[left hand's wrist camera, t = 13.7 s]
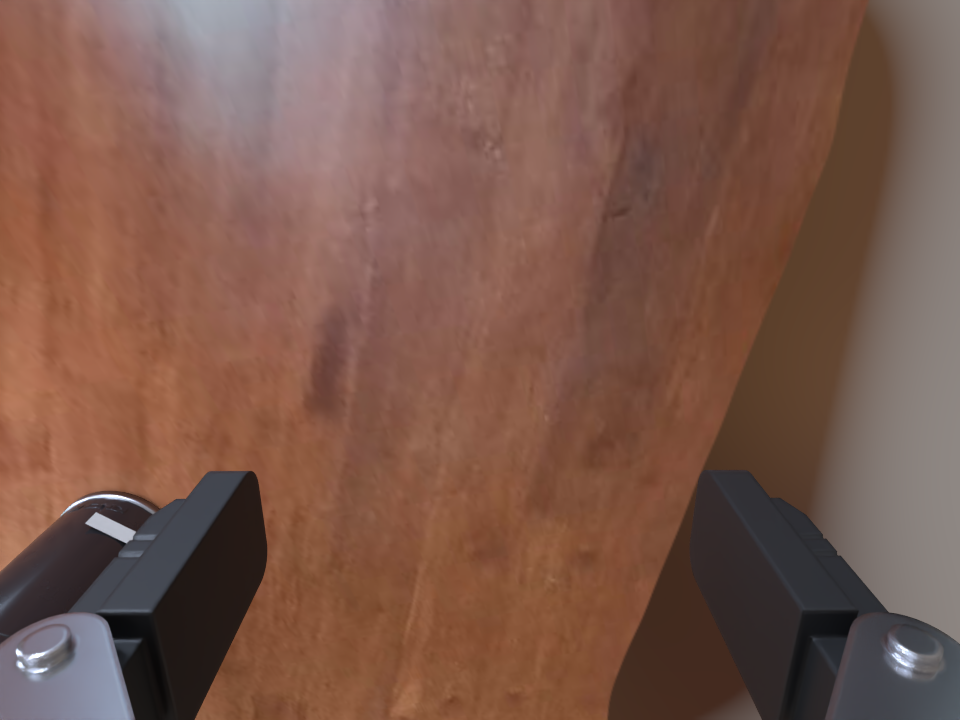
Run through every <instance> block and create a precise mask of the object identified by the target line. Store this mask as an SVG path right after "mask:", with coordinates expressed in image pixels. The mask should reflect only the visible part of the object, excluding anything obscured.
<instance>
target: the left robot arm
mask: <svg viewBox="0 0 960 720" xmlns="http://www.w3.org/2000/svg"><path fill="white" fill-rule="evenodd" d="M266 561H267V541H266V534H265V526H264V519H263V512H262V505H261V498H260V491H259V484H258V479H257V477H256V475H255V473H254V472H252V471H210V472H208V473H207V474H206V475H205V476H204V477H203V478H202V480H201V481H200V482H199V483H198V485H197V486H196V487H195V488H194V490H193V491H192V492H191V493H190V495H189V496H188V497H187V498H186V499H176V500H174V501H173V502H171V503H170V504H168V505H166V506H165V507H163V508H162V509H159V508H157V507H156V506H155V505H153V504H152V503H150V502H148V501H146V500H145V499H142V498H140V497H138V496H135V495H132V494H129V493H124V492H118V491H101V492H95V493H91V494H88V495H86V496H83V497H81V498H80V499H78V500H77V501H75V502H74V503H73V504H72V505H71V506H69V507H68V508H67V509H66V510H65V511H64V512H63V514H62V515H61V516H60V518H59V519H57V520H56V521H55V522H54V523H53V524H52V525H51V526H50V527H49V528H48V529H47V530H45V531H44V532H43V533H42V534H41V535H40V536H39V537H37V538H36V539H35V540H34V541H33V542H32V543H31V544H30V545H29V546H28V547H27V548H25V549H24V550H23V551H22V552H21V553H20V554H19V555H18V556H17V557H16V558H15V559H14V560H12V561H11V562H10V563H9V564H8V565H7V566H6V567H5V568H4V569H3V570H2V571H0V720H194V719H195V717H196V715H197V713H198V711H199V709H200V707H201V705H202V703H203V701H204V699H205V697H206V695H207V693H208V690H209V688H210V686H211V684H212V682H213V680H214V678H215V676H216V674H217V672H218V670H219V668H220V666H221V664H222V662H223V660H224V657H225V655H226V653H227V651H228V649H229V647H230V645H231V643H232V641H233V639H234V637H235V635H236V633H237V631H238V629H239V627H240V624H241V622H242V620H243V618H244V616H245V614H246V612H247V610H248V608H249V606H250V604H251V602H252V600H253V598H254V596H255V593H256V591H257V589H258V587H259V585H260V583H261V581H262V579H263V576H264V572H265V568H266ZM690 562H691V567H692V572H693V575H694V578H695V580H696V582H697V585H698V587H699V589H700V591H701V593H702V595H703V597H704V599H705V601H706V603H707V605H708V608H709V610H710V612H711V614H712V616H713V618H714V620H715V622H716V624H717V626H718V628H719V630H720V633H721V635H722V637H723V639H724V641H725V643H726V645H727V647H728V649H729V651H730V653H731V656H732V658H733V660H734V662H735V664H736V666H737V668H738V670H739V672H740V674H741V676H742V679H743V681H744V683H745V685H746V687H747V689H748V691H749V693H750V695H751V697H752V699H753V701H754V704H755V706H756V708H757V710H758V712H759V714H760V716H761V718H762V720H960V644H959V643H958V642H956V641H955V640H954V639H952V638H951V637H950V636H948V635H947V634H945V633H944V632H942V631H940V630H939V629H937V628H935V627H933V626H931V625H929V624H927V623H924V622H922V621H919V620H917V619H914V618H911V617H908V616H904V615H900V614H895V613H889V612H888V611H887V610H886V609H885V608H884V606H883V605H882V604H881V603H880V602H879V600H878V599H877V598H876V597H875V596H874V595H873V593H872V592H871V591H870V590H869V589H868V587H867V586H866V585H865V584H864V583H863V582H862V580H861V579H860V578H859V577H858V576H857V574H856V573H855V572H854V571H853V570H852V569H851V567H850V566H849V565H848V564H847V563H846V561H845V560H844V559H843V558H842V557H841V556H838V555H837V551H836V550H835V549H834V547H833V546H832V545H831V544H830V543H829V541H828V540H827V539H823V534H822V533H821V532H820V531H819V530H818V528H817V527H816V526H815V525H814V524H813V523H812V521H811V520H810V519H809V518H808V517H807V515H805V514H804V513H802V512H801V511H799V510H798V509H796V508H795V507H793V506H791V505H790V504H788V503H787V502H785V501H784V500H782V499H781V498H770V497H769V496H768V495H767V493H766V492H765V491H764V490H763V488H762V487H761V486H760V484H759V483H758V482H757V481H756V479H755V478H754V477H753V476H752V474H751V473H750V472H749V471H747V470H704V471H703V472H702V473H701V475H700V477H699V481H698V487H697V494H696V502H695V509H694V516H693V524H692V531H691V538H690Z"/></svg>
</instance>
